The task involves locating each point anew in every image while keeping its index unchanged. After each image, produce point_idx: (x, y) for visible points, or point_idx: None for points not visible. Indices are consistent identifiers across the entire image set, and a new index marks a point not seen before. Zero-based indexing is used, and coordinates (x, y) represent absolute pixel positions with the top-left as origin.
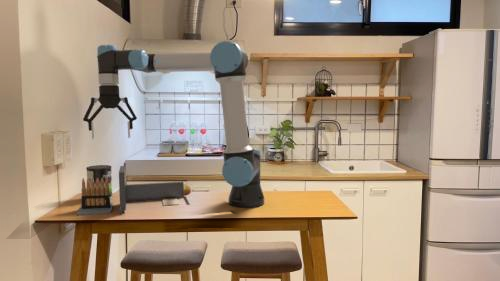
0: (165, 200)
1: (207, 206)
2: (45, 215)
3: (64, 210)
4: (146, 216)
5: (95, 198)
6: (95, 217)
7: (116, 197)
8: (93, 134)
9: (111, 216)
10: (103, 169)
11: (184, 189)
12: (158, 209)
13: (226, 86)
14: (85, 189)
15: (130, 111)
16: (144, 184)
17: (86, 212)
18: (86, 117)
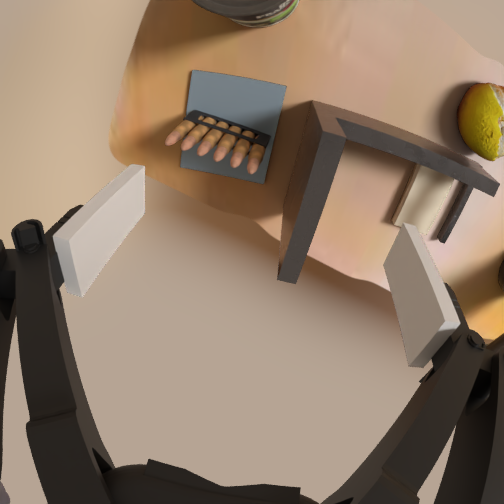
0: (421, 183)
1: (471, 247)
2: (113, 134)
3: (149, 102)
4: (332, 251)
5: (223, 135)
6: (223, 203)
7: (313, 5)
8: (126, 231)
9: (260, 213)
10: (255, 14)
11: (496, 158)
12: (380, 213)
13: None
14: (185, 136)
15: (453, 457)
16: (393, 152)
17: (202, 165)
18: (8, 314)
